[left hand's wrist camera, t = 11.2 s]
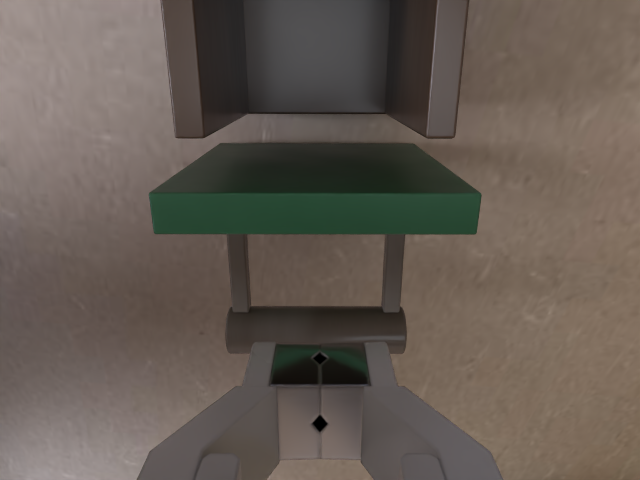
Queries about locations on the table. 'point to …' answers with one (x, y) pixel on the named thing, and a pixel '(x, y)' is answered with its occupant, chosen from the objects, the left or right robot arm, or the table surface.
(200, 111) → the drawer
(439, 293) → the table surface
